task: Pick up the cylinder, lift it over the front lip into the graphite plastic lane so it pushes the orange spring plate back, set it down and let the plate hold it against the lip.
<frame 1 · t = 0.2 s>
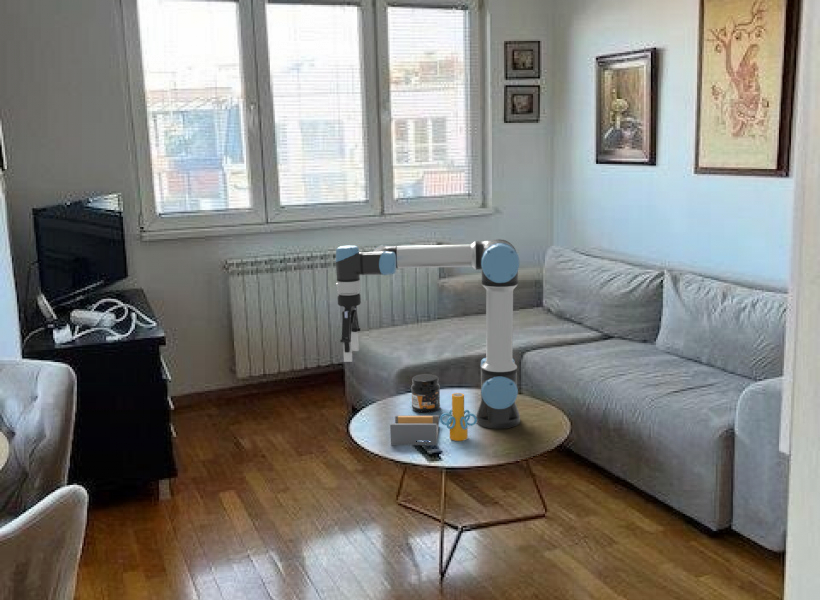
hand: (351, 356, 280), 28 cm above the table, tool pointing down, fingers open, 13 cm apart
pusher: (415, 425, 284), point 3 cm above the table, slide at 0.0 cm
supplement container: (426, 409, 310), on the table
lane: (415, 434, 284), on the table
cylinder: (458, 438, 280), on the table
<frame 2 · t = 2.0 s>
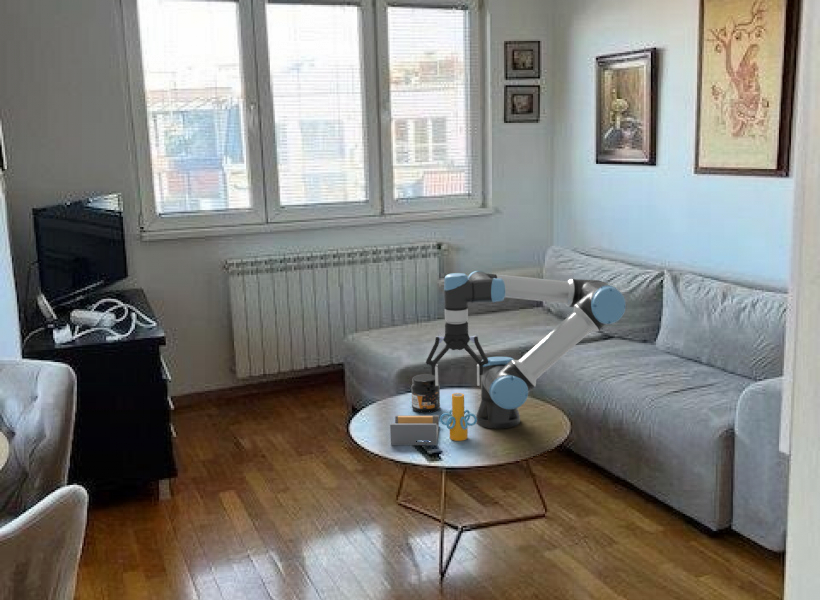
hand: (457, 384, 276), 18 cm above the table, tool pointing down, fingers open, 13 cm apart
nothing on the table moved.
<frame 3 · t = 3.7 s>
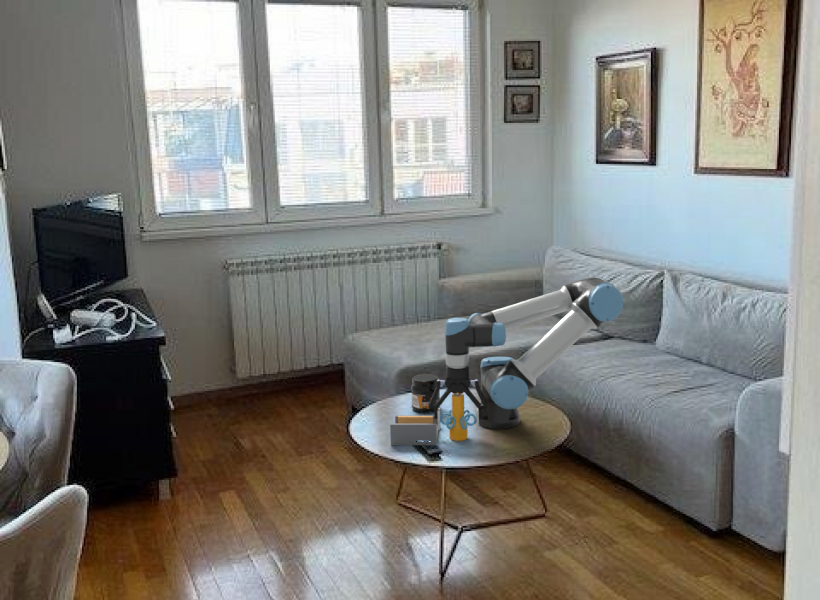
hand: (458, 428, 279), 3 cm above the table, tool pointing down, fingers closed on cylinder, 12 cm apart
cylinder: (458, 438, 280), on the table, touching gripper
everything else where it was.
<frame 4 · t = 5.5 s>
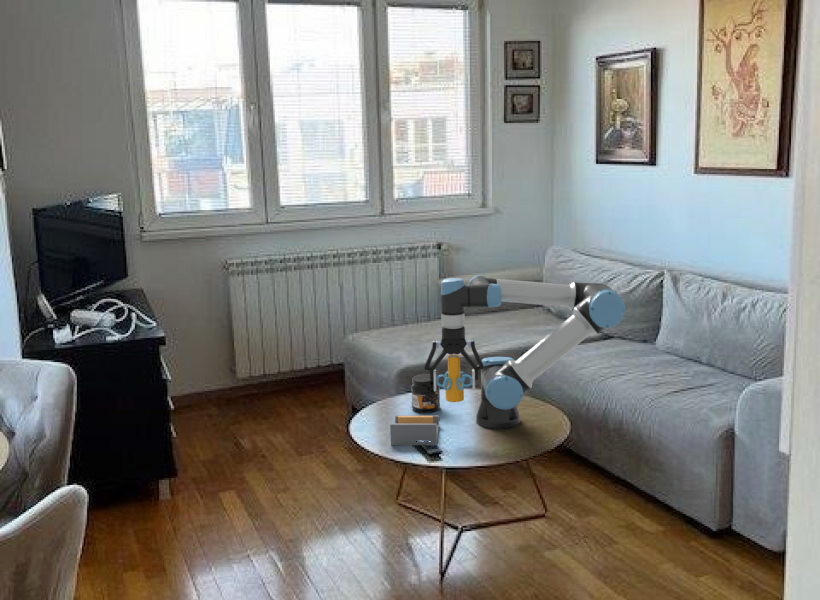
hand: (454, 389, 278), 16 cm above the table, tool pointing down, fingers closed on cylinder, 12 cm apart
cylinder: (454, 400, 279), point 13 cm above the table, touching gripper
everything else where it was.
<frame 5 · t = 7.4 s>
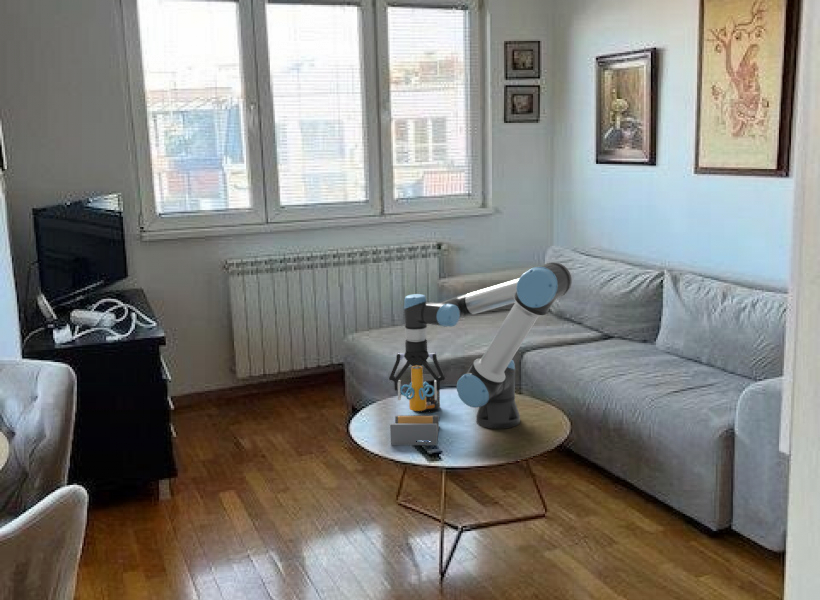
hand: (417, 399, 295), 8 cm above the table, tool pointing down, fingers closed on cylinder, 12 cm apart
cylinder: (417, 409, 296), point 5 cm above the table, touching gripper
everything else where it was.
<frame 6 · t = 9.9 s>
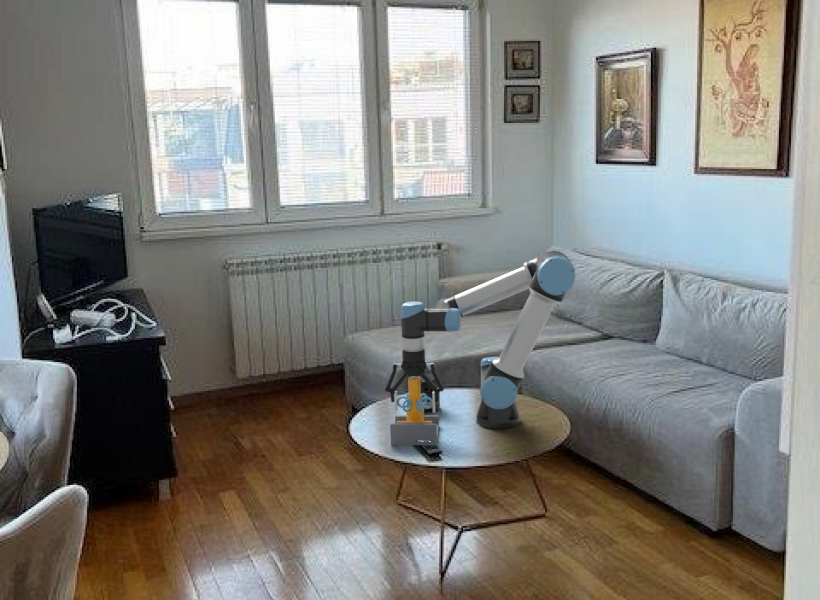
hand: (415, 411, 282), 8 cm above the table, tool pointing down, fingers closed on cylinder, 12 cm apart
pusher: (414, 430, 279), point 3 cm above the table, slide at 4.9 cm
cylinder: (415, 421, 283), point 5 cm above the table, touching gripper
everything else where it was.
when the fingers open (5 cm above the table, at t = 11.3 s): cylinder stays where it is, resting on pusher.
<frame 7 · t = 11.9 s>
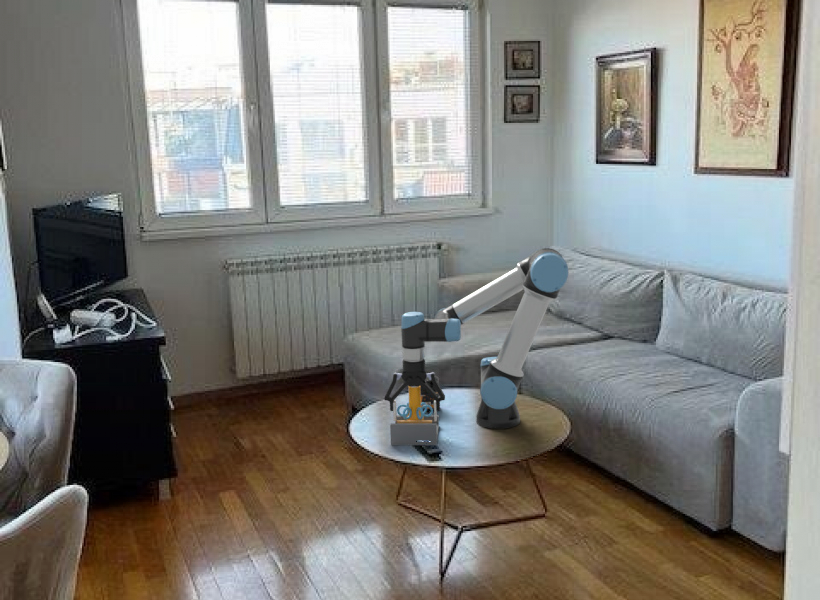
hand: (415, 420, 283), 5 cm above the table, tool pointing down, fingers open, 13 cm apart
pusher: (414, 429, 280), point 3 cm above the table, slide at 4.2 cm, touching cylinder
cylinder: (415, 430, 284), point 1 cm above the table, touching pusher
everything else where it was.
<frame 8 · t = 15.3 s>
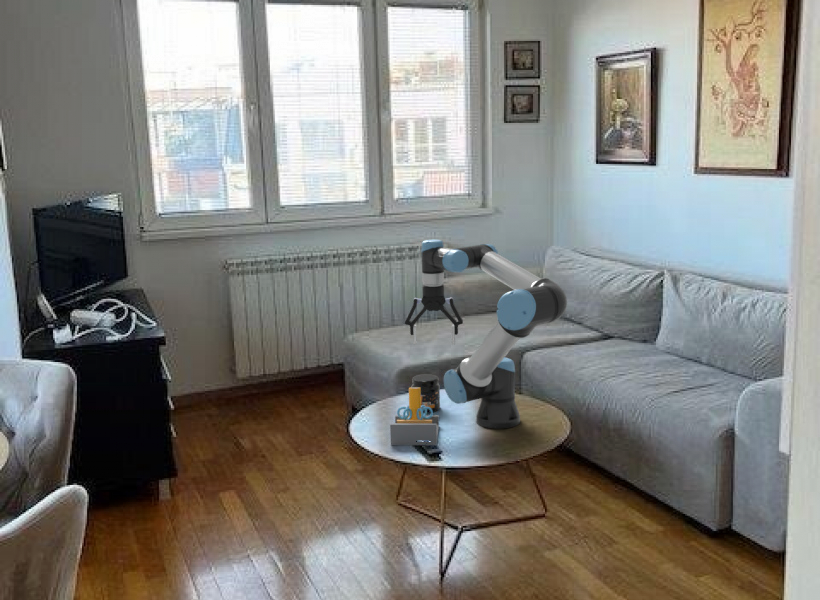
hand: (434, 343, 297), 27 cm above the table, tool pointing down, fingers open, 13 cm apart
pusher: (414, 428, 280), point 3 cm above the table, slide at 3.8 cm, touching cylinder
cylinder: (415, 432, 285), resting on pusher
everything else where it was.
at the end: cylinder inside the target area (0.7 cm from its centre), resting in lane; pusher slide at 3.8 cm; cylinder tilted 11° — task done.
